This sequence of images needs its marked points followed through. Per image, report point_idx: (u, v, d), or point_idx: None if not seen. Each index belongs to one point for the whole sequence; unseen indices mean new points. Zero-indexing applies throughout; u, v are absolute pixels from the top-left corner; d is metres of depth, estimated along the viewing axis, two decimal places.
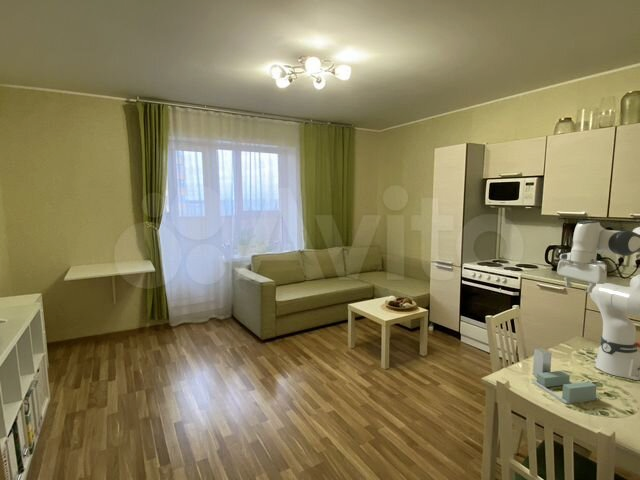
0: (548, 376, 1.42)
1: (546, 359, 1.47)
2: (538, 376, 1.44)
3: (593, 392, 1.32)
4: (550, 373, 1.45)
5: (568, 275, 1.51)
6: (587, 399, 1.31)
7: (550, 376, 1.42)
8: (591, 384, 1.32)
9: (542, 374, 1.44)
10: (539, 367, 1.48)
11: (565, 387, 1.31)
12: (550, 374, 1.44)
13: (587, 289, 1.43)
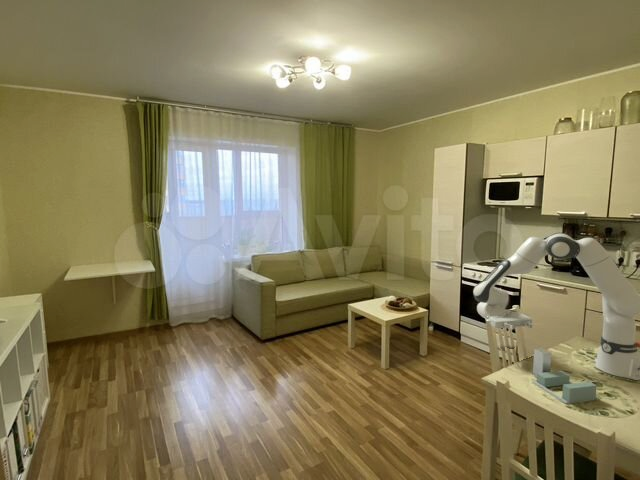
0: (548, 376, 1.42)
1: (546, 359, 1.47)
2: (538, 376, 1.44)
3: (593, 392, 1.32)
4: (550, 373, 1.45)
5: None
6: (587, 399, 1.31)
7: (550, 376, 1.42)
8: (591, 384, 1.32)
9: (542, 374, 1.44)
10: (539, 367, 1.48)
11: (565, 387, 1.31)
12: (550, 374, 1.44)
13: None
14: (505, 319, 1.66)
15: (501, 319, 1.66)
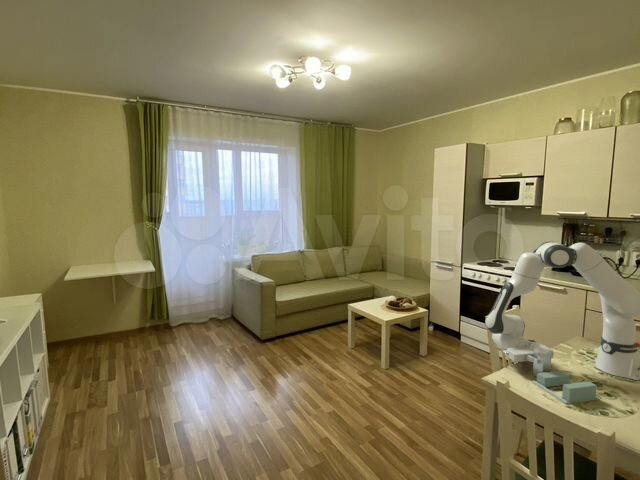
0: (548, 376, 1.42)
1: (546, 359, 1.47)
2: (538, 376, 1.44)
3: (593, 392, 1.32)
4: (550, 373, 1.45)
5: None
6: (587, 399, 1.31)
7: (550, 376, 1.42)
8: (591, 384, 1.32)
9: (542, 374, 1.44)
10: (539, 367, 1.48)
11: (565, 387, 1.31)
12: (550, 374, 1.44)
13: None
14: (524, 351, 1.54)
15: (520, 351, 1.54)
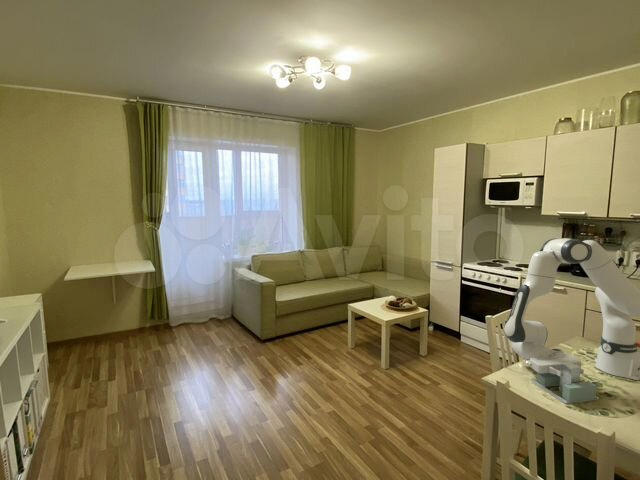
0: (548, 376, 1.42)
1: (575, 374, 1.33)
2: (538, 376, 1.44)
3: (593, 392, 1.32)
4: (550, 373, 1.45)
5: None
6: (587, 399, 1.31)
7: (550, 376, 1.42)
8: (591, 384, 1.32)
9: (542, 374, 1.44)
10: (567, 383, 1.35)
11: (565, 387, 1.31)
12: (550, 374, 1.44)
13: None
14: (550, 362, 1.41)
15: (545, 362, 1.41)
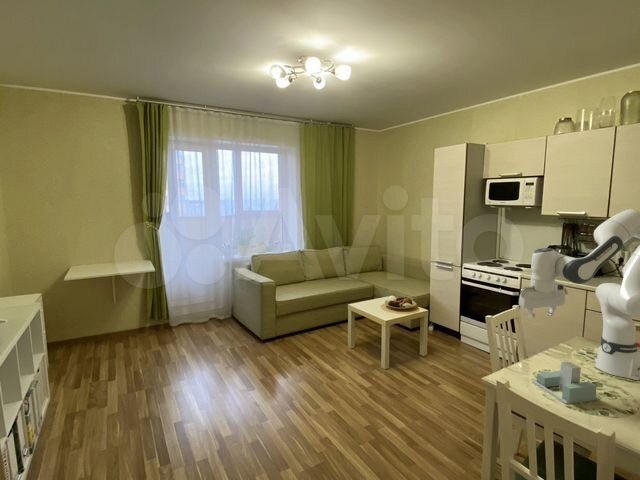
0: (548, 376, 1.42)
1: (575, 375, 1.33)
2: (538, 376, 1.44)
3: (593, 392, 1.32)
4: (550, 373, 1.45)
5: None
6: (587, 399, 1.31)
7: (550, 376, 1.42)
8: (591, 384, 1.32)
9: (542, 374, 1.44)
10: (567, 383, 1.35)
11: (565, 387, 1.31)
12: (550, 374, 1.44)
13: None
14: (537, 303, 1.46)
15: (533, 303, 1.46)
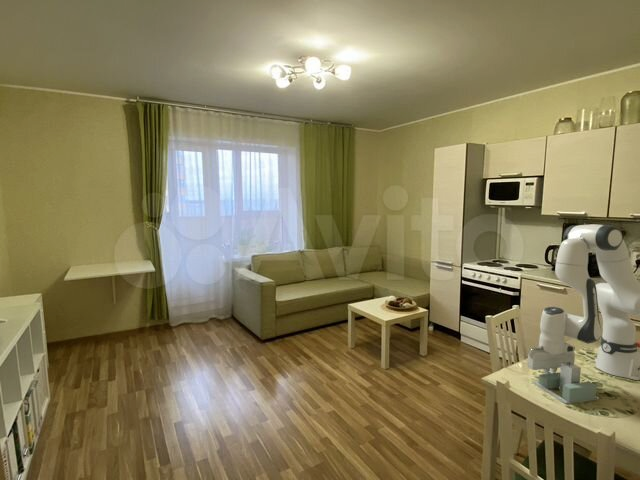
0: (550, 377, 1.41)
1: (575, 374, 1.33)
2: (540, 377, 1.43)
3: (593, 392, 1.32)
4: (552, 374, 1.44)
5: None
6: (587, 399, 1.31)
7: (552, 377, 1.41)
8: (591, 384, 1.32)
9: (544, 375, 1.43)
10: (567, 383, 1.35)
11: (565, 387, 1.31)
12: (552, 376, 1.42)
13: None
14: (546, 365, 1.43)
15: (542, 364, 1.42)
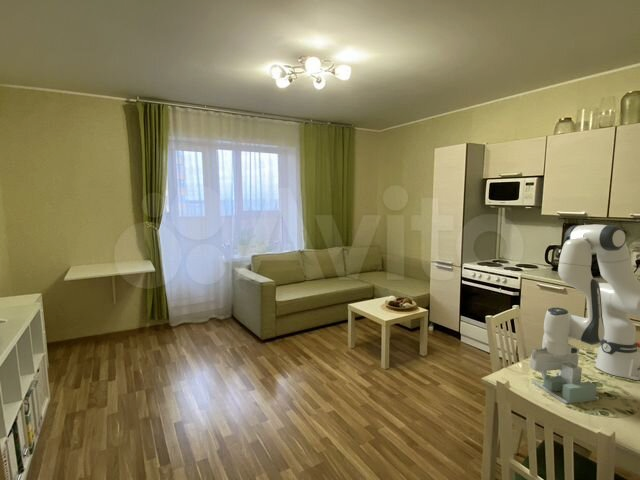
0: (555, 380, 1.39)
1: (576, 375, 1.33)
2: (545, 380, 1.41)
3: (593, 392, 1.32)
4: (557, 377, 1.41)
5: None
6: (587, 399, 1.31)
7: (557, 380, 1.39)
8: (591, 384, 1.32)
9: (549, 378, 1.40)
10: None
11: (565, 387, 1.31)
12: (557, 378, 1.40)
13: None
14: (548, 366, 1.40)
15: (544, 366, 1.40)
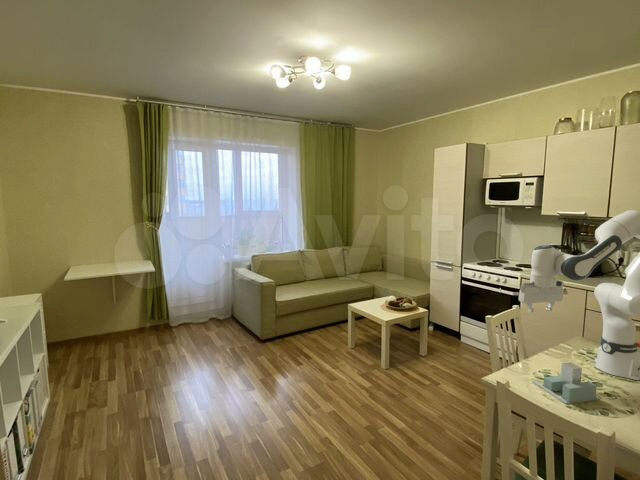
0: (555, 380, 1.39)
1: (576, 375, 1.33)
2: (545, 380, 1.41)
3: (593, 392, 1.32)
4: (557, 377, 1.41)
5: None
6: (587, 399, 1.31)
7: (557, 380, 1.39)
8: (591, 384, 1.32)
9: (549, 378, 1.40)
10: None
11: (565, 387, 1.31)
12: (557, 378, 1.40)
13: None
14: (536, 299, 1.52)
15: (532, 298, 1.51)
